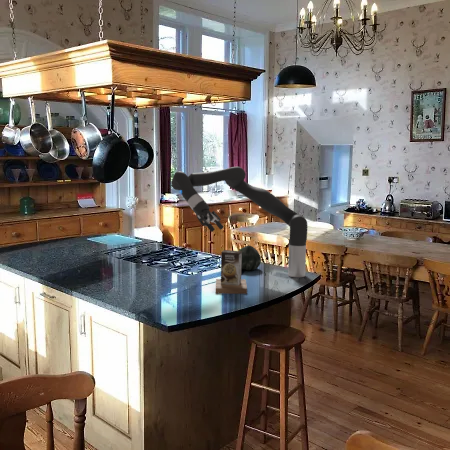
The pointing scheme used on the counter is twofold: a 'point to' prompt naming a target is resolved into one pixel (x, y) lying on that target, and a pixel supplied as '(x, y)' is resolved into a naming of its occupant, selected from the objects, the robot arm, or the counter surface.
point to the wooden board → (231, 287)
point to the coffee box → (231, 267)
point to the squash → (250, 258)
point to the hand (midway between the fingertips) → (217, 229)
